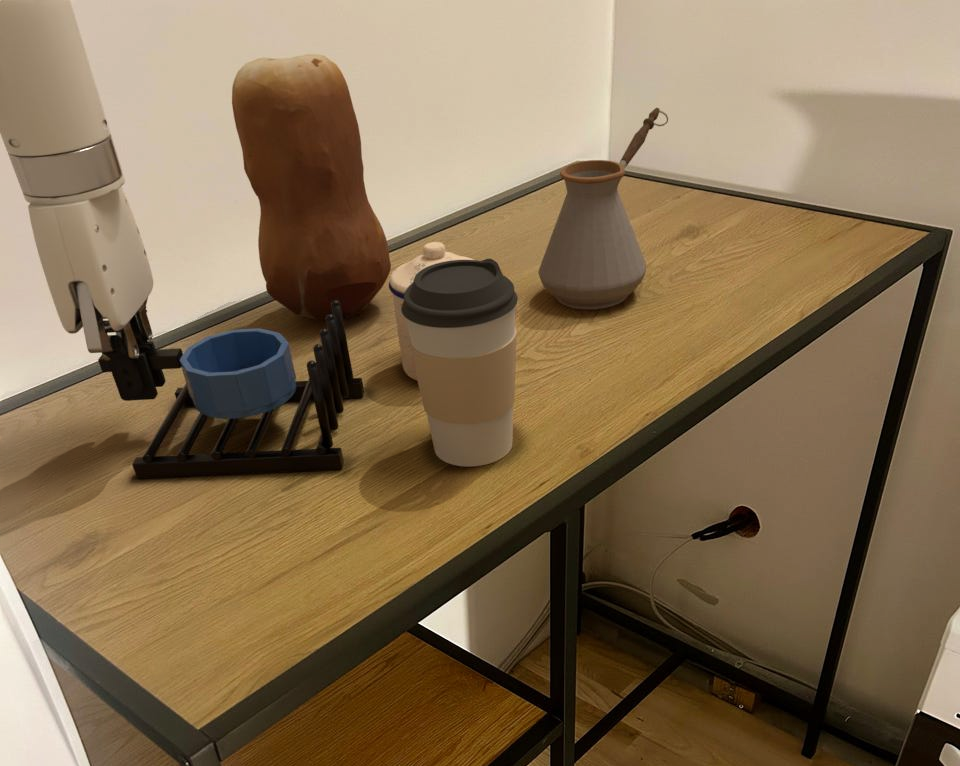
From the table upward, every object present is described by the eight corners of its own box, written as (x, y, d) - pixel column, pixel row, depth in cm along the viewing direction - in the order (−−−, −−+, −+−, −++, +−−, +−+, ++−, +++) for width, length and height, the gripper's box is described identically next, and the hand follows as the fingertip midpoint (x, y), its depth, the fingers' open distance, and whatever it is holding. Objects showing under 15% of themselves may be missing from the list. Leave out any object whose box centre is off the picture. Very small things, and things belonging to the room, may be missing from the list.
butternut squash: (344, 281, 113) (301, 35, 96) (420, 306, 105) (388, 44, 89) (248, 321, 106) (184, 64, 89) (323, 351, 98) (268, 76, 82)
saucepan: (99, 425, 82) (81, 380, 79) (132, 377, 88) (117, 333, 86) (285, 416, 80) (274, 370, 77) (304, 368, 87) (295, 323, 84)
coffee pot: (615, 324, 98) (617, 167, 88) (519, 307, 103) (512, 157, 93) (700, 253, 110) (710, 109, 101) (611, 241, 116) (613, 102, 106)
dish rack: (137, 479, 82) (99, 378, 76) (182, 401, 93) (152, 307, 86) (342, 469, 81) (321, 365, 74) (364, 391, 91) (347, 295, 85)
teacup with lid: (407, 393, 90) (389, 269, 82) (395, 353, 97) (378, 235, 89) (530, 373, 91) (525, 249, 83) (510, 335, 98) (503, 217, 90)
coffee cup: (442, 484, 78) (419, 304, 68) (406, 435, 84) (381, 264, 74) (543, 455, 80) (535, 276, 70) (500, 410, 86) (488, 240, 76)
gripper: (60, 144, 78) (131, 355, 90) (-24, 206, 67) (71, 439, 79) (148, 137, 78) (208, 351, 90) (79, 199, 66) (159, 435, 78)
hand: (144, 391), depth 84 cm, fingers closed on saucepan, 1 cm apart
